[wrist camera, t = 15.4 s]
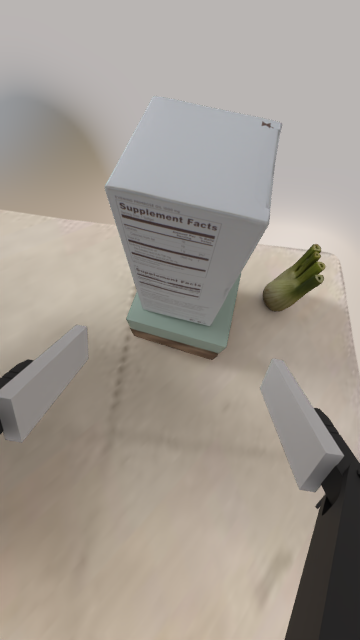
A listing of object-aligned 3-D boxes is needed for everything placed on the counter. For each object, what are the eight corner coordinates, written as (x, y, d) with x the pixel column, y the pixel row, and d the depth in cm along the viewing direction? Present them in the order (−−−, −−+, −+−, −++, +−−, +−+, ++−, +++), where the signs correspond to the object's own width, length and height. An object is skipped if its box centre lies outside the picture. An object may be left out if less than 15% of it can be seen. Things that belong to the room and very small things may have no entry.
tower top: (131, 328, 30) (126, 319, 26) (158, 256, 34) (157, 239, 31) (218, 353, 30) (226, 347, 26) (234, 277, 34) (243, 262, 30)
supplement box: (161, 252, 30) (151, 89, 14) (224, 266, 30) (285, 115, 14) (140, 311, 27) (97, 183, 11) (211, 329, 26) (274, 222, 10)
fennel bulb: (277, 320, 36) (328, 285, 25) (253, 304, 37) (291, 264, 25) (291, 295, 38) (344, 253, 26) (267, 281, 38) (309, 234, 27)
